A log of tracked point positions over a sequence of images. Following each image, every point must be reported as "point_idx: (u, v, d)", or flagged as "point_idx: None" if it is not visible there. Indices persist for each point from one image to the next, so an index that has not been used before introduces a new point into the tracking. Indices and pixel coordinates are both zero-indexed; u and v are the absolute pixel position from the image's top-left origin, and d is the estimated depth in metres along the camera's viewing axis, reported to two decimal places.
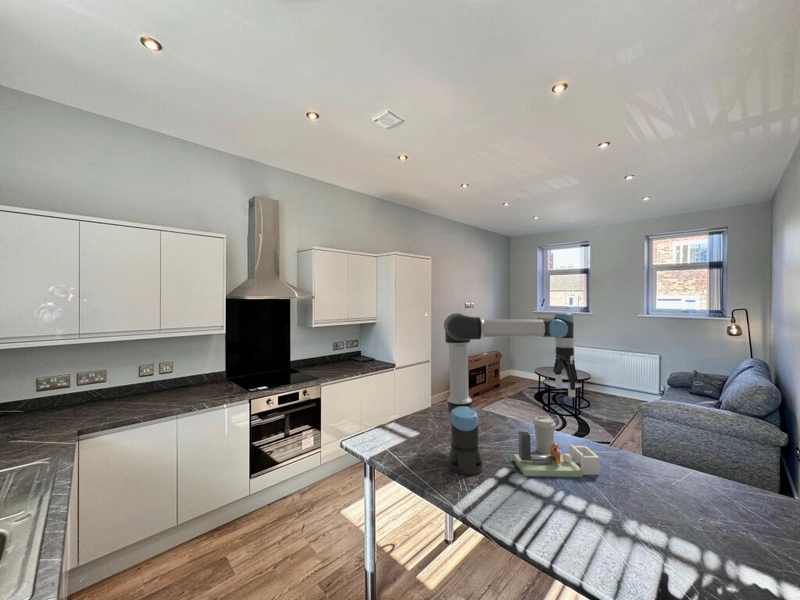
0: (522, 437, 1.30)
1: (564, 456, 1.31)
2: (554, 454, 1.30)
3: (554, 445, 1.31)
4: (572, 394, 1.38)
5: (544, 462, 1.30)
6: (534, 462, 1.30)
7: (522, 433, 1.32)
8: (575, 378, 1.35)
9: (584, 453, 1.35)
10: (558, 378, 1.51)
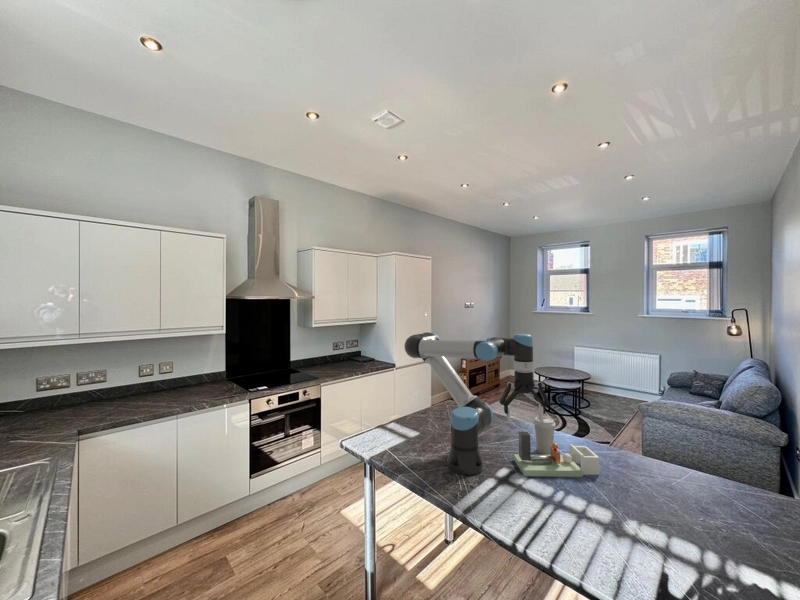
0: (522, 437, 1.30)
1: (564, 456, 1.31)
2: (554, 454, 1.30)
3: (554, 445, 1.31)
4: (507, 418, 1.32)
5: (544, 462, 1.30)
6: (534, 462, 1.30)
7: (522, 433, 1.32)
8: (501, 400, 1.32)
9: (584, 453, 1.35)
10: (539, 409, 1.32)
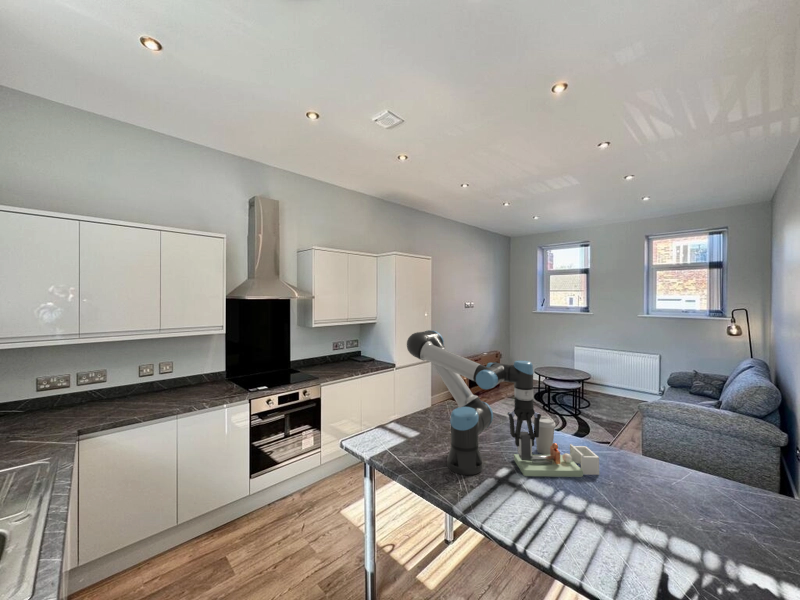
0: (522, 437, 1.30)
1: (564, 456, 1.31)
2: (554, 454, 1.30)
3: (554, 445, 1.31)
4: (518, 450, 1.32)
5: (544, 462, 1.30)
6: (534, 462, 1.30)
7: (522, 433, 1.32)
8: (511, 433, 1.32)
9: (584, 453, 1.35)
10: None
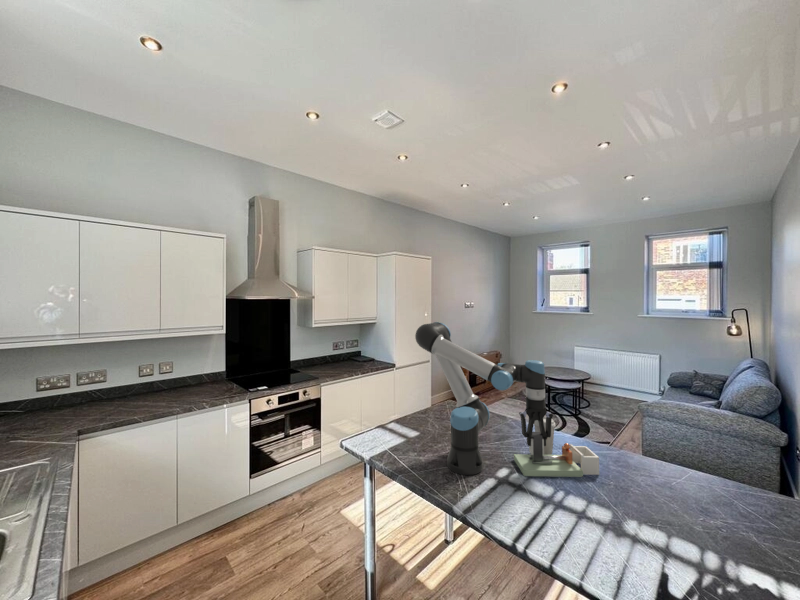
0: (534, 437, 1.30)
1: None
2: (566, 454, 1.30)
3: (566, 445, 1.31)
4: (530, 450, 1.32)
5: (544, 462, 1.30)
6: (534, 462, 1.30)
7: (534, 433, 1.32)
8: (523, 433, 1.32)
9: (584, 453, 1.35)
10: None
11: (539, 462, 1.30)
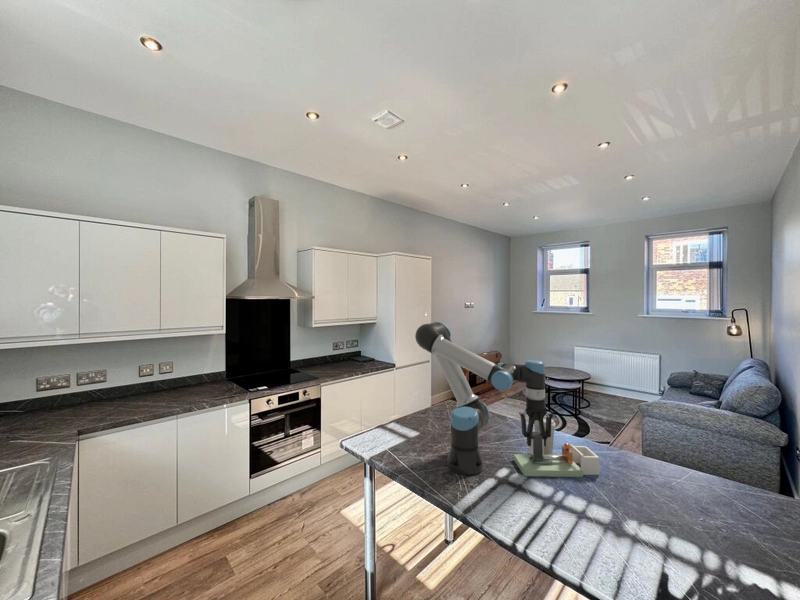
0: (534, 437, 1.30)
1: None
2: (566, 454, 1.30)
3: (566, 445, 1.31)
4: (530, 450, 1.32)
5: (544, 462, 1.30)
6: (534, 462, 1.30)
7: (534, 433, 1.32)
8: (523, 433, 1.32)
9: (584, 453, 1.35)
10: None
11: (539, 462, 1.30)
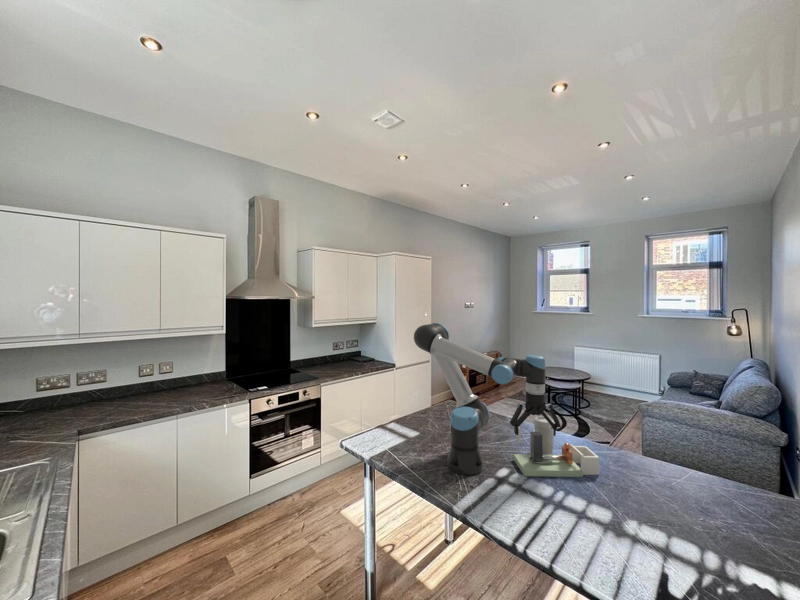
0: (534, 437, 1.30)
1: None
2: (566, 454, 1.30)
3: (566, 445, 1.31)
4: (517, 439, 1.32)
5: (544, 462, 1.30)
6: (534, 462, 1.30)
7: (534, 433, 1.32)
8: (512, 421, 1.32)
9: (584, 453, 1.35)
10: (550, 431, 1.32)
11: (539, 462, 1.30)
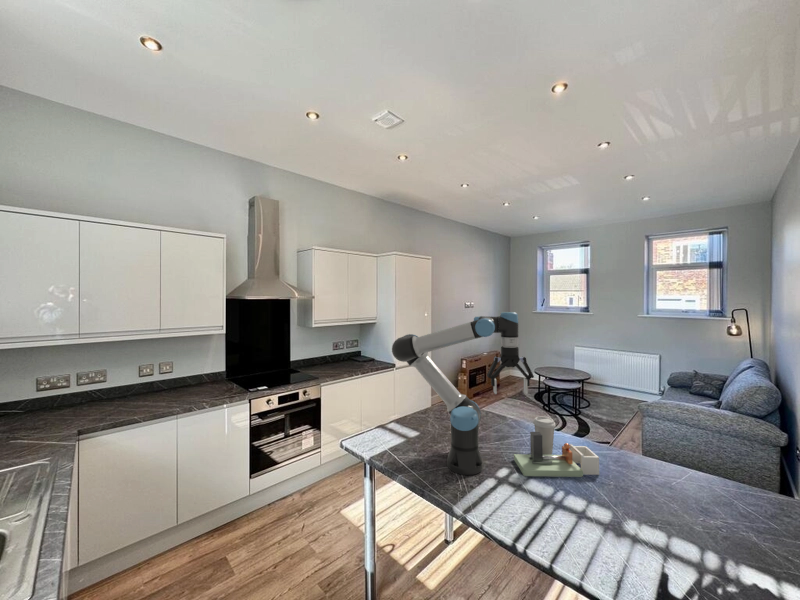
0: (534, 437, 1.30)
1: None
2: (566, 454, 1.30)
3: (566, 445, 1.31)
4: (494, 390, 1.41)
5: (544, 462, 1.30)
6: (534, 462, 1.30)
7: (534, 433, 1.32)
8: (488, 374, 1.41)
9: (584, 453, 1.35)
10: (524, 382, 1.41)
11: (539, 462, 1.30)
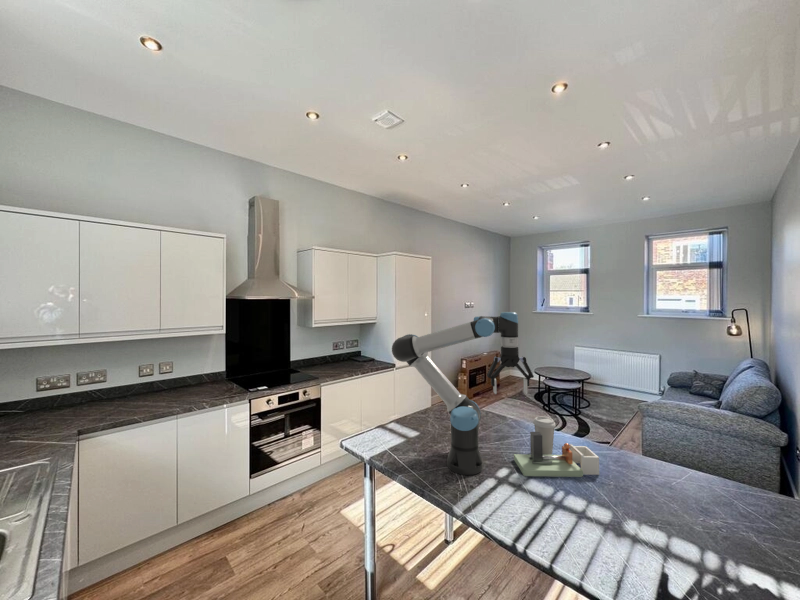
0: (534, 437, 1.30)
1: None
2: (566, 454, 1.30)
3: (566, 445, 1.31)
4: (494, 390, 1.41)
5: (544, 462, 1.30)
6: (534, 462, 1.30)
7: (534, 433, 1.32)
8: (488, 373, 1.41)
9: (584, 453, 1.35)
10: (524, 382, 1.41)
11: (539, 462, 1.30)
